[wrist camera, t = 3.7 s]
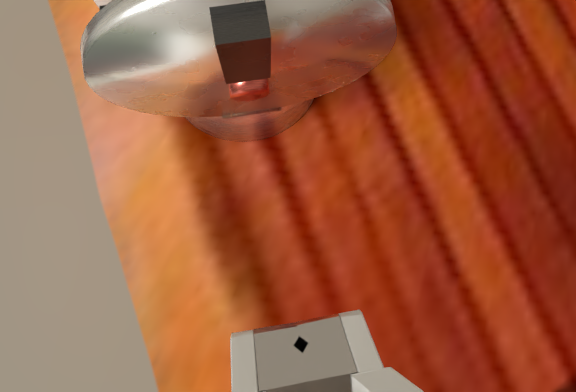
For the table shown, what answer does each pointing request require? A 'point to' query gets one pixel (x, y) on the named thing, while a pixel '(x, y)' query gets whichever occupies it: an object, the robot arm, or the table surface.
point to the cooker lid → (231, 52)
